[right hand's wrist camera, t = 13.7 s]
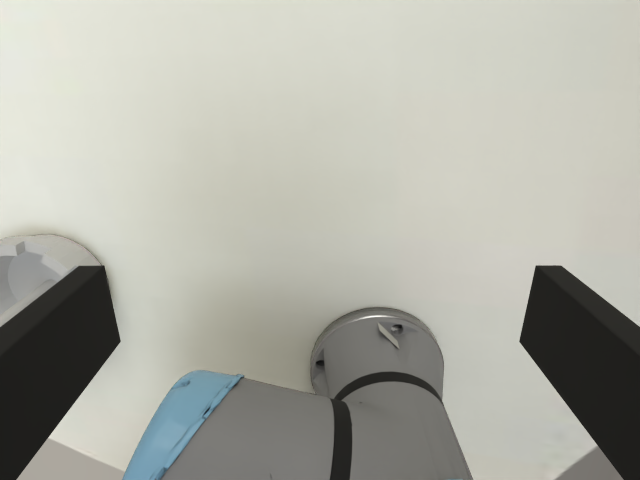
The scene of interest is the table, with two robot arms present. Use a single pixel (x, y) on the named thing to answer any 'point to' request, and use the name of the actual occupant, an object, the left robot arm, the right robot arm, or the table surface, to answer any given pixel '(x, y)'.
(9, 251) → the flag stand
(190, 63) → the table surface
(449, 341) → the table surface
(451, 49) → the table surface
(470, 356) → the table surface
